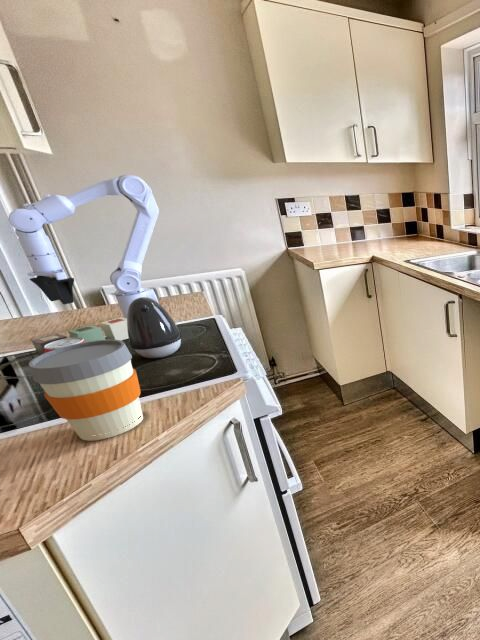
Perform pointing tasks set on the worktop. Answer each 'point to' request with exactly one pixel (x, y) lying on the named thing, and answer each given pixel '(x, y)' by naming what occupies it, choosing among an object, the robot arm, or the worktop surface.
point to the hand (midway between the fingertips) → (62, 301)
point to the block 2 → (88, 333)
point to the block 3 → (115, 329)
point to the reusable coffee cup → (91, 387)
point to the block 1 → (46, 342)
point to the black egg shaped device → (151, 329)
